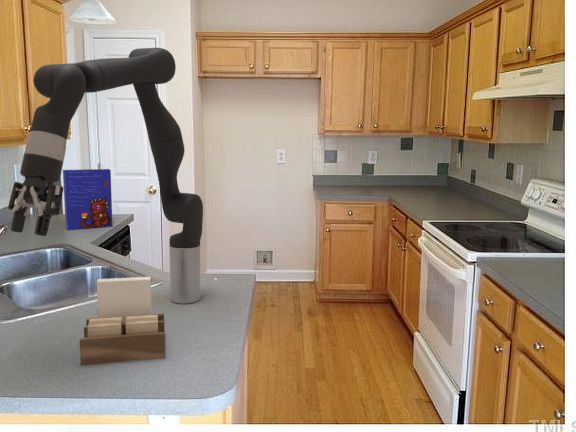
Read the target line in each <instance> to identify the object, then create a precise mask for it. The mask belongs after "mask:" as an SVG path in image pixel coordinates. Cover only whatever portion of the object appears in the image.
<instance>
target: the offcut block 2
mask: <svg viewBox="0 0 576 432" xmlns="http://www.w3.org/2000/svg"><path fill="white" fill-rule="evenodd" d="M156 332H158V315H147V316H132V317H127V318H126V335H129V334H143V333H156Z"/></svg>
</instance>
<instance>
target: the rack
mask: <svg viewBox="0 0 576 432" xmlns="http://www.w3.org/2000/svg"><path fill="white" fill-rule="evenodd" d="M151 315H158V332H156V333H143V334H129V335H126V323H122V329H123V335H116V336H103V337H90V338H88V328H87V327H88V324H89V321H90V319H98V317H94V318H86V322H85V323H86V324H85V325H84V326H83V337H80V338H79V356H80V366H87V365H89V366H90V365H101V364H109V363H110V364H113V363H121V362H134V361H145V360H156V359H166V331H165V313H151Z"/></svg>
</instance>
